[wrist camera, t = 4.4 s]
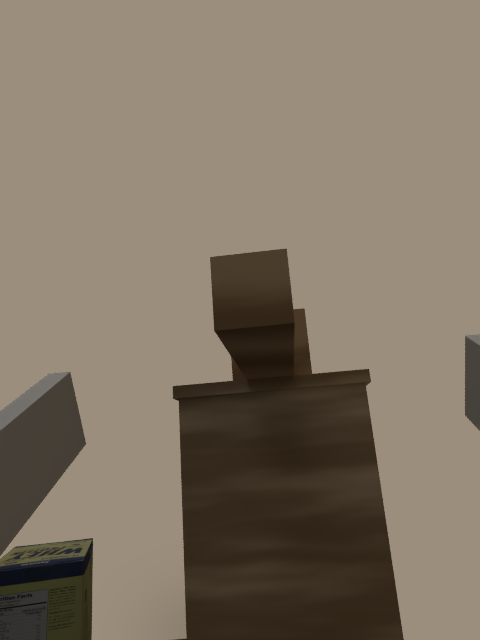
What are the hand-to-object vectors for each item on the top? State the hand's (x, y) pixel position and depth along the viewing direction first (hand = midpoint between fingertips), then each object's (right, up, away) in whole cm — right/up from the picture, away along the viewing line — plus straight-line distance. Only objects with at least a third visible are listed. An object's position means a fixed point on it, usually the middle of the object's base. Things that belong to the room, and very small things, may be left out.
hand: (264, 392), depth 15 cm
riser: (+4, -32, +12) cm, 34 cm away
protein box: (-24, -41, +37) cm, 60 cm away
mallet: (+1, -1, +13) cm, 13 cm away
